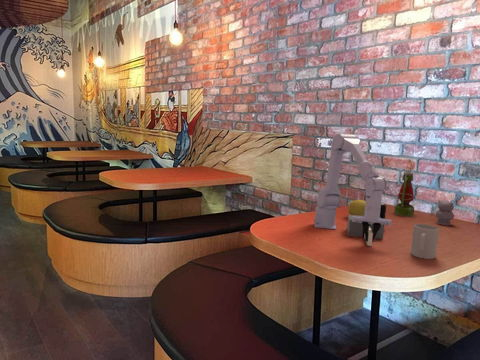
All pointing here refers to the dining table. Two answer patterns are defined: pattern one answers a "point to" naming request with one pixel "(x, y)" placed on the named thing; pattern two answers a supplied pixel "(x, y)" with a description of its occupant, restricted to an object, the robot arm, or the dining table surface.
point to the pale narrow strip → (369, 237)
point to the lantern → (405, 195)
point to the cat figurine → (444, 212)
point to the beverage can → (382, 210)
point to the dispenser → (361, 228)
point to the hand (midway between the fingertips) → (369, 241)
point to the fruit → (357, 207)
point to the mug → (424, 241)
